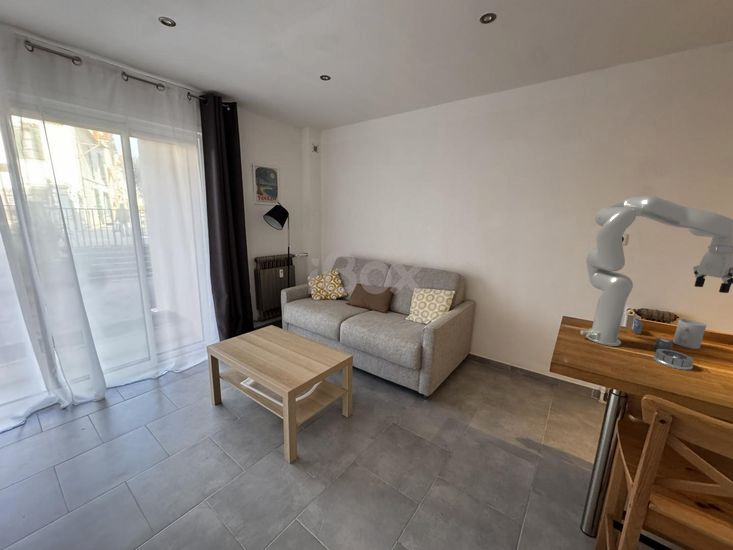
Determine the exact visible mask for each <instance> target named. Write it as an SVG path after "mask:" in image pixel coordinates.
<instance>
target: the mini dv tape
mask: <svg viewBox="0 0 733 550" xmlns="http://www.w3.org/2000/svg"><path fill="white" fill-rule="evenodd" d="M643 325H644V323H643V322H642V321H641V320H640V319H639V318H633V319H632V324H631V327H630V330H631V331H632V332H633V333H634V334H635V335H639V336H641V333H642V329H643Z"/></svg>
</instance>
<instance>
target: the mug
mask: <svg viewBox="0 0 733 550" xmlns="http://www.w3.org/2000/svg"><path fill="white" fill-rule="evenodd" d="M706 328H707V324H705V323H703V322H700V321H696V320H692V319H685V318H680V319H679V320H678V322H677V326H676V330H675V333H674V336H673V339H672V342H673V344H675V345H676V346H680V347H682V348H687V349H691V350H692V349H693V350H699V349H701V345H702V342H703V339H704V336H705V331H706Z"/></svg>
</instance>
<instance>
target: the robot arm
mask: <svg viewBox="0 0 733 550" xmlns="http://www.w3.org/2000/svg"><path fill="white" fill-rule="evenodd" d="M637 217H643V218H646V219H649V220H652V221H655V222H658V223H661V224H664V225H666V226H670V227H676V228H683V229H688V232H690V234H692V235H694V236H696V237H697V236H698V237H706V238H711V241H710V245H708V246H707V249H708V251H705V253H704V255H703V256H702V258H701V260H700V263H699V264H698V265H695V266H693V268H692V269H693V273H694V277H695V278H696V279H695V282H694V287H695V288H702V287H704V284H705V281H706V278H705V277H707V276H708V277H712V278H719V279H721V280H722V283H721V284H720V286H719V290H718V293H720V294H721V293H723V294H728V293H729V292H730V289H731V286H732V285H733V218H730V217H728V216H725V215H722V214H719V213H716V212H711V211H708V210H702V209H698V208H695V207H694V208H693V207H691V206H685V205H681V204H679V203H676V202H672V201H669V200H667V199H664V198H661V197H658V196H656V195H641V196H639V195H638V196H633V197H629V198H626V199H624V200H621V201H618V202H615V203H613V204H611V205H607V206H605V207H603V208H600V209H599V210H598V211H597V212H596V214H595V216H594V220H595V223H596V224H597V225H599V226H600V227H601V228H600V229H599V231H598V232H597V235H596V247H594V248H592V249H591V250H589V252H588V253H587V255H586V258H585V259H586V262H585V263H586V267H587V268H586V269H587V272H588V279H589V282H590V284H591V285H592V287H594V288H595V289H596V290H600V291H602V293H601V295H599V298H598V300H597V303H596V309H595V312H594V317H593V322H592V327H590V328H589V329H587V330H584V329H581V330H580V331H579V332H580V333H579V334H581V335H585V337H586V338H587V339H588V340H589V341H591V342H593V343H597V344H600V345H603V346H607V347H608V346H609V347H619V346H621V344H622V341H621V340H619V339H618V337H619V333H620V329H621V325H622V320H623V317H624V313H625V312H624V311H625V308H626V303H627V300H628V298H629V296H630V294H631V292H632V290H633V287H634V283H633V280H632V279H631V278H630V277H629V276H627V275H626V274H624V273H620V272H619V271H621V270H623V268H624V267H625V264H626V260H625V258H626V257H625V253H624V252H625V251H624V247H623V245H624V244H623V235H624V233H625V232H626V230H627V229H628V228H629V227H630V226H631V225H632V224H633V223H634V221H635V220H636V218H637Z"/></svg>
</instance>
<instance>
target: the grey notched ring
mask: <svg viewBox="0 0 733 550" xmlns="http://www.w3.org/2000/svg"><path fill="white" fill-rule="evenodd" d="M652 359H653V360H654V361H655V362H657V363H659V364H660V365H663V366H665V367H669V368H673V369H677V370H680V371H681V370H682V371H691V370H692V369H693V368H694V365H693V364H694V359H693V358H692V356H689V355H687V354H685V353H683V352H680V351H676V350H672V349H671V350H667V349H657V350H656V351H655V353H654V354H653V355H652Z"/></svg>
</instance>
